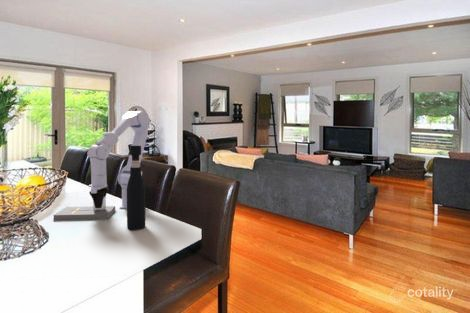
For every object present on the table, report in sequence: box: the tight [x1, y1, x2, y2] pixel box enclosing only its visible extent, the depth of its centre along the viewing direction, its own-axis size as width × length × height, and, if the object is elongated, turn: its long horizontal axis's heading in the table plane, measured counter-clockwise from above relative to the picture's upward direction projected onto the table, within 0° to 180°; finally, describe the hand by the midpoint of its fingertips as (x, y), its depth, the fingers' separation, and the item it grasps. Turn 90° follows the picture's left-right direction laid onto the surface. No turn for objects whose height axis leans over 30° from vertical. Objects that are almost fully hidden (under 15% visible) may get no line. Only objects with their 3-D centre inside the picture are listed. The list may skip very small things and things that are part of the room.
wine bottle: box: [126, 145, 146, 231], centre depth 110 cm, size 6×6×30 cm
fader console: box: [53, 205, 116, 221], centre depth 125 cm, size 20×12×2 cm, turn 98°
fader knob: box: [92, 195, 107, 210], centre depth 126 cm, size 4×3×5 cm
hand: (99, 206), depth 126 cm, fingers closed on fader knob, 3 cm apart
